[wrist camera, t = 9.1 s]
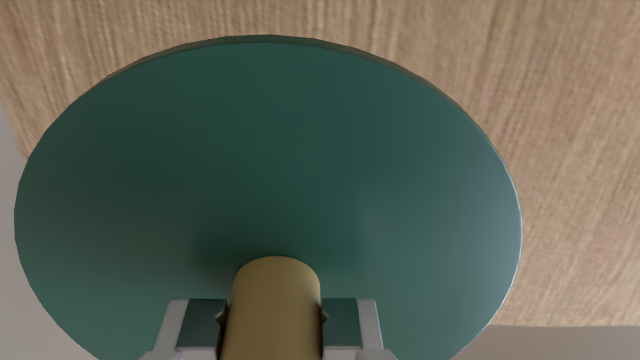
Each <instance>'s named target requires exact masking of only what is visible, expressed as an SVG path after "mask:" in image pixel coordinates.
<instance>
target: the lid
mask: <svg viewBox="0 0 640 360" xmlns="http://www.w3.org/2000/svg"><path fill="white" fill-rule="evenodd" d="M14 229H15V241H16V245H17V249H18V254H19V259H20V262H21V265H22V268H23V270H24V272H25V275H26V277H27V279H28V282H29V284H30V286H31V288H32V290H33V291H34V293H35V294H36V296H37V298H38V299H39V301H40V302H41V304H42V306H43V307H44V308H45V310H46V311H47V312H48V313H49V315H50V316H51V317H52V318H53V319H54V321H55V322H56V323H57V324H58V326H59V327H60V328H62V329H63V330H64V331H65V332H66V333H67V334H68V335H69V336H70V337H71V338H72V339H73V340H74V341H75V342H76V343H78V344H79V345H80V346H81V347H83V348H84V349H85V350H87V351H88V352H89V353H91V354H92V355H93V356H94V357H96V358H97V359H99V360H138V359H139V358H140V357H141V356H142V355H144V354H145V353H146V352H147V351H153V349H154V346H155V343H156V340H157V337H158V334H159V331H160V328H161V325H162V322H163V319H164V316H165V313H166V310H167V307H168V304H169V302H170V301H171V299H172V298H199V299H228V305H229V309H228V315H227V320H226V326H225V331H224V337H223V342H222V347H221V353H220V358H219V360H322V346H321V337H322V329H321V320H320V300H321V298H355V299H356V298H374V300H375V303H376V309H377V314H378V320H379V326H380V331H381V337H382V342H383V348H384V349H389V350H390V351H391V352H392V353H393V354H394V355H395V357H396V358H397V359H398V360H449V359H451V358H452V357H454V356H455V355H456V354H458V353H459V352H460V351H461V350H462V349H463V348H465V347H466V346H467V345H468V344H469V343H470V342H472V341H473V340H474V339H475V338H476V337H477V335H478V334H479V333H480V332H481V331H482V330H483V329H484V328H485V327H486V326H487V325H488V324H489V322H490V321H491V319H492V318H493V317H494V315H495V314H496V312H497V311H498V309H499V308H500V307H501V305H502V303H503V301H504V299H505V297H506V296H507V294H508V292H509V290H510V288H511V286H512V283H513V280H514V277H515V274H516V271H517V268H518V265H519V260H520V253H521V246H522V215H521V209H520V205H519V201H518V196H517V192H516V188H515V186H514V183H513V181H512V179H511V176H510V174H509V172H508V170H507V167H506V165H505V163H504V161H503V159H502V158H501V156H500V155H499V154H498V152H497V151H496V149H495V148H494V146H493V145H492V143H491V142H490V140H489V139H488V137H487V136H486V134H485V133H484V132H483V131H482V129H481V128H480V127H479V126H478V124H477V123H476V122H475V121H474V120H473V119H472V118H471V117H470V116H469V115H468V114H467V113H466V112H465V111H464V110H463V109H462V108H461V107H460V106H459V105H458V104H457V103H456V102H455V101H454V100H452V99H451V98H450V97H448V96H447V95H446V94H445V93H443V92H442V91H441V90H439V89H438V88H437V87H435V86H434V85H433V84H431V83H430V82H429V81H427V80H425V79H423V78H422V77H420V76H418V75H416V74H414V73H412V72H411V71H409V70H407V69H405V68H403V67H402V66H400V65H398V64H396V63H394V62H392V61H389V60H386V59H384V58H381V57H378V56H376V55H373V54H370V53H368V52H365V51H362V50H360V49H357V48H353V47H349V46H345V45H340V44H336V43H331V42H327V41H323V40H318V39H314V38H303V37H292V36H281V35H270V34H269V35H245V36H225V37H219V38H214V39H208V40H203V41H197V42H192V43H186V44H182V45H179V46H176V47H173V48H170V49H167V50H164V51H161V52H158V53H155V54H152V55H149V56H146V57H143V58H141V59H139V60H137V61H135V62H133V63H131V64H129V65H127V66H125V67H123V68H121V69H119V70H117V71H116V72H114V73H112V74H110V75H108V76H107V77H105V78H104V79H103V80H101V81H100V82H99V83H97V84H96V85H94V86H93V87H92V88H90V89H89V90H88V91H86V92H85V93H84V94H82V95H81V96H80V97H78V98H77V99H76V100H75V101H74V102H73V103H72V104H71V105H70V106H69V107H68V108H67V109H66V110H65V111H64V112H63V113H62V114H61V115H60V116H59V117H58V118H57V119H56V120H55V121H54V122H53V123H52V124H51V125H50V126H49V128H48V129H47V130H46V131H45V133H44V134H43V136H42V137H41V139H40V140H39V142H38V144H37V145H36V147H35V148H34V150H33V151H32V153H31V154H30V156H29V158H28V161H27V163H26V166H25V168H24V171H23V174H22V176H21V179H20V181H19V185H18V191H17V196H16V202H15V208H14Z"/></svg>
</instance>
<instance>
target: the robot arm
mask: <svg viewBox="0 0 640 360" xmlns="http://www.w3.org/2000/svg"><path fill="white" fill-rule="evenodd" d="M228 309H229V305H228V299H199V298H172V299H171V301H170V302H169V304H168V307H167V310H166V313H165V316H164V319H163V322H162V325H161V328H160V331H159V334H158V337H157V340H156V343H155V346H154V349H153V351H147V352H146V353H145V354H144V355H142V356H141V357H140V358H139V359H138V360H219V358H220V353H221V347H222V342H223V337H224V331H225V326H226V320H227V315H228ZM320 320H321V329H322V337H321V346H322V360H398V359H397V358H396V357H395V355H394V354H393V353H392V352H391V351H390V350H389V349H384V348H383V342H382V337H381V331H380V326H379V320H378V314H377V309H376V303H375V300H374V298H356V299H355V298H321V300H320Z"/></svg>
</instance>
